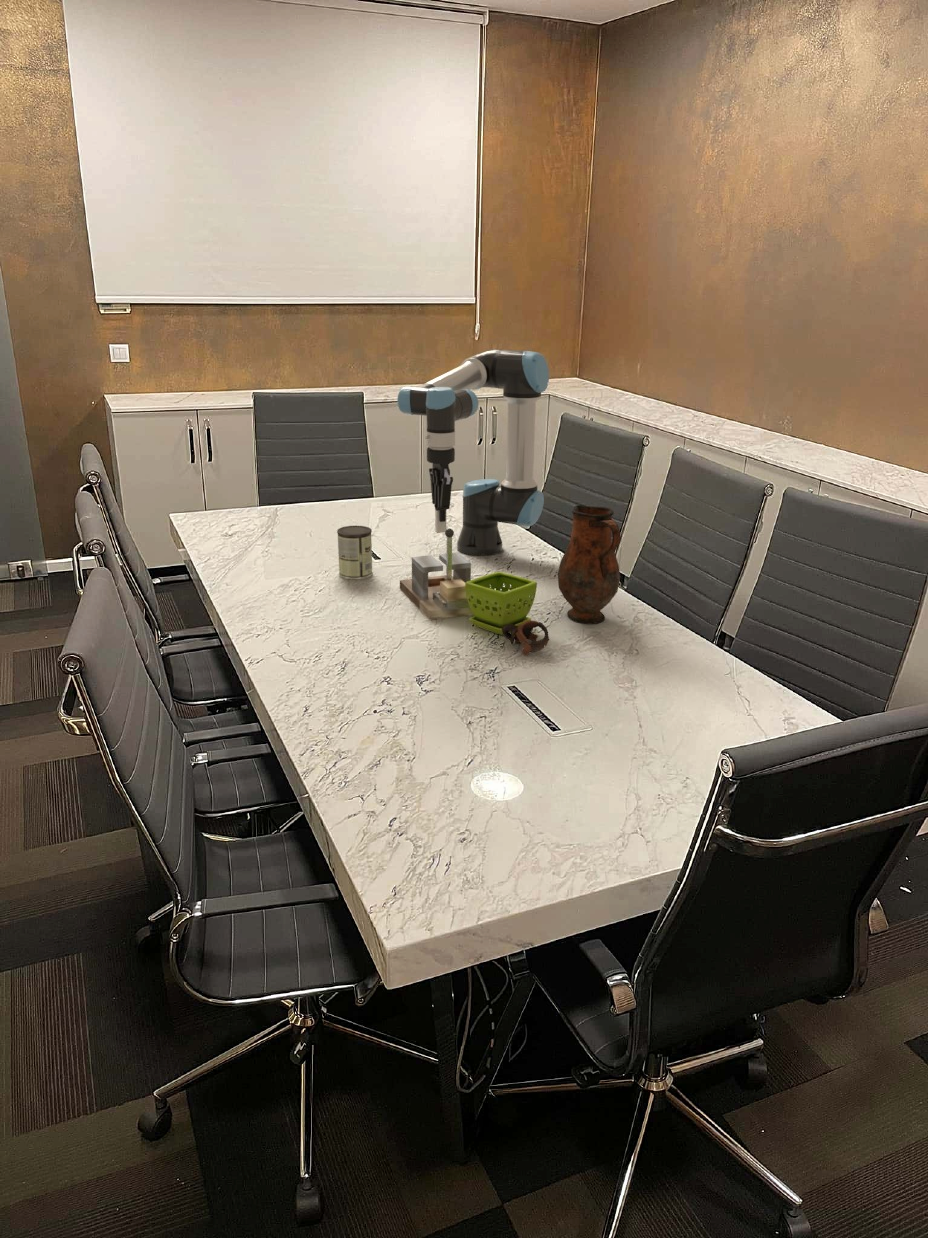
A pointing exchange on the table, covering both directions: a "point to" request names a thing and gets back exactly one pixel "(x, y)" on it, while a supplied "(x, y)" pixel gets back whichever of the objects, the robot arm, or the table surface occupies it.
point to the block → (453, 590)
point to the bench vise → (434, 584)
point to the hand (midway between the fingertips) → (440, 531)
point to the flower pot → (500, 600)
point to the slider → (436, 595)
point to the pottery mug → (526, 635)
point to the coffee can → (355, 552)
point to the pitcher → (590, 564)
